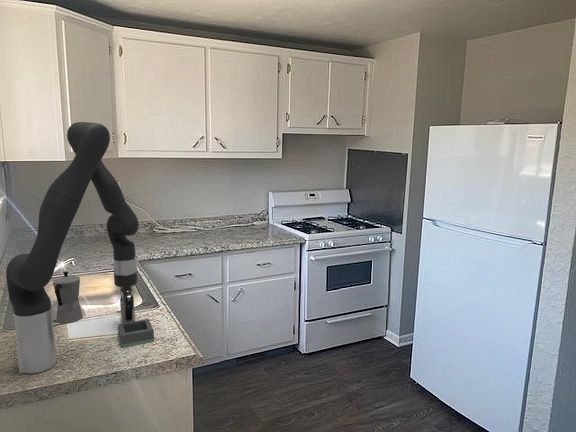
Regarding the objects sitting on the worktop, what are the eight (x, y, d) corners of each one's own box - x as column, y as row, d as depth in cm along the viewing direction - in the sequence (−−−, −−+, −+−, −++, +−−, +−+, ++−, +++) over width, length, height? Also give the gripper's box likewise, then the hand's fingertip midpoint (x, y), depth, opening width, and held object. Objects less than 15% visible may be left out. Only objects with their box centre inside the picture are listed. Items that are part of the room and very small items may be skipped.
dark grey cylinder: (119, 325, 153) (117, 298, 151) (131, 322, 156) (130, 295, 154) (125, 329, 149) (123, 301, 148) (137, 326, 153) (136, 298, 151)
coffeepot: (63, 311, 164) (59, 266, 161) (89, 311, 165) (85, 266, 162) (45, 329, 149) (40, 279, 146) (73, 328, 150) (69, 279, 147)
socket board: (121, 347, 137) (121, 336, 136) (118, 335, 146) (117, 323, 145) (154, 341, 141) (153, 330, 141) (148, 329, 150) (148, 318, 149)
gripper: (111, 266, 154) (114, 311, 157) (115, 278, 141) (119, 327, 144) (133, 264, 157) (136, 308, 160) (139, 275, 144) (142, 323, 147)
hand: (128, 317), depth 152 cm, fingers closed on dark grey cylinder, 4 cm apart
